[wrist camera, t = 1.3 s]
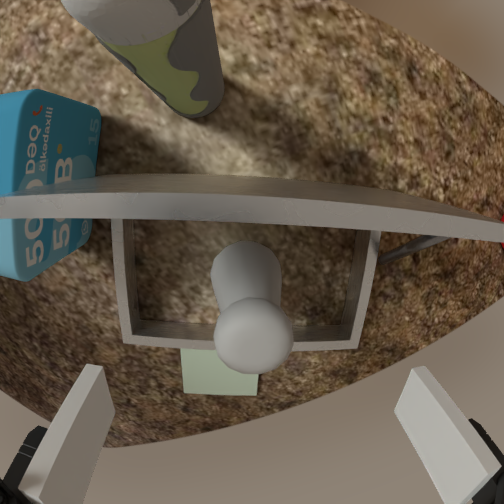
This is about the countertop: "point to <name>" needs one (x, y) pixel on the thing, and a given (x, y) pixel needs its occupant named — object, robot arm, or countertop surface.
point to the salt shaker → (250, 309)
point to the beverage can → (502, 221)
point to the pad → (213, 375)
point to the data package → (43, 174)
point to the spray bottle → (161, 47)
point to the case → (249, 211)
